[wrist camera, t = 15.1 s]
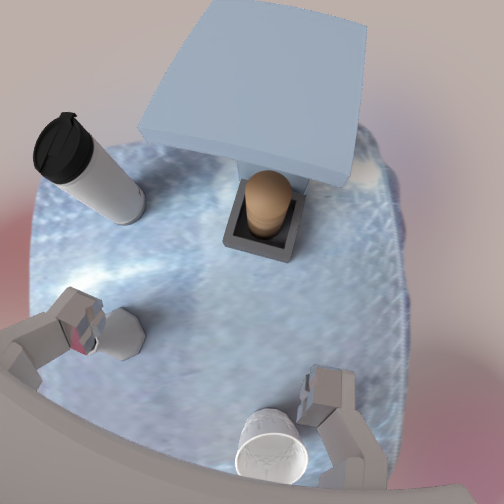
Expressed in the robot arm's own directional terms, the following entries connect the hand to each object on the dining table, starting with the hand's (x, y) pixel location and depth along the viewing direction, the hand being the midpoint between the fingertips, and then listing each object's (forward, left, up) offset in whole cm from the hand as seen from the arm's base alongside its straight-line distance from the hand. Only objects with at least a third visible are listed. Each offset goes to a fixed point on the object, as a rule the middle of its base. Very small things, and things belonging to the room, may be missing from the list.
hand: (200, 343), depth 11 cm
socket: (+12, 0, -29) cm, 32 cm away
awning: (+14, +1, -29) cm, 32 cm away
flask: (-8, +15, -30) cm, 34 cm away
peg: (+12, 0, -29) cm, 31 cm away
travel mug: (+10, +20, -30) cm, 37 cm away
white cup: (-15, -8, -30) cm, 34 cm away
